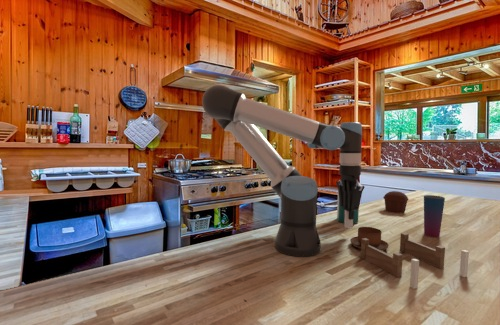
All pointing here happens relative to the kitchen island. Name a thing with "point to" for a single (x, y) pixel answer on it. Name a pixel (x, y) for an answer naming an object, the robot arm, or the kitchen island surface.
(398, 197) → the muffin
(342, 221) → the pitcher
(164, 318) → the kitchen island surface
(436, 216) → the cup
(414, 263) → the posts
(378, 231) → the cup and saucer
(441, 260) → the brown wooden rail pair
